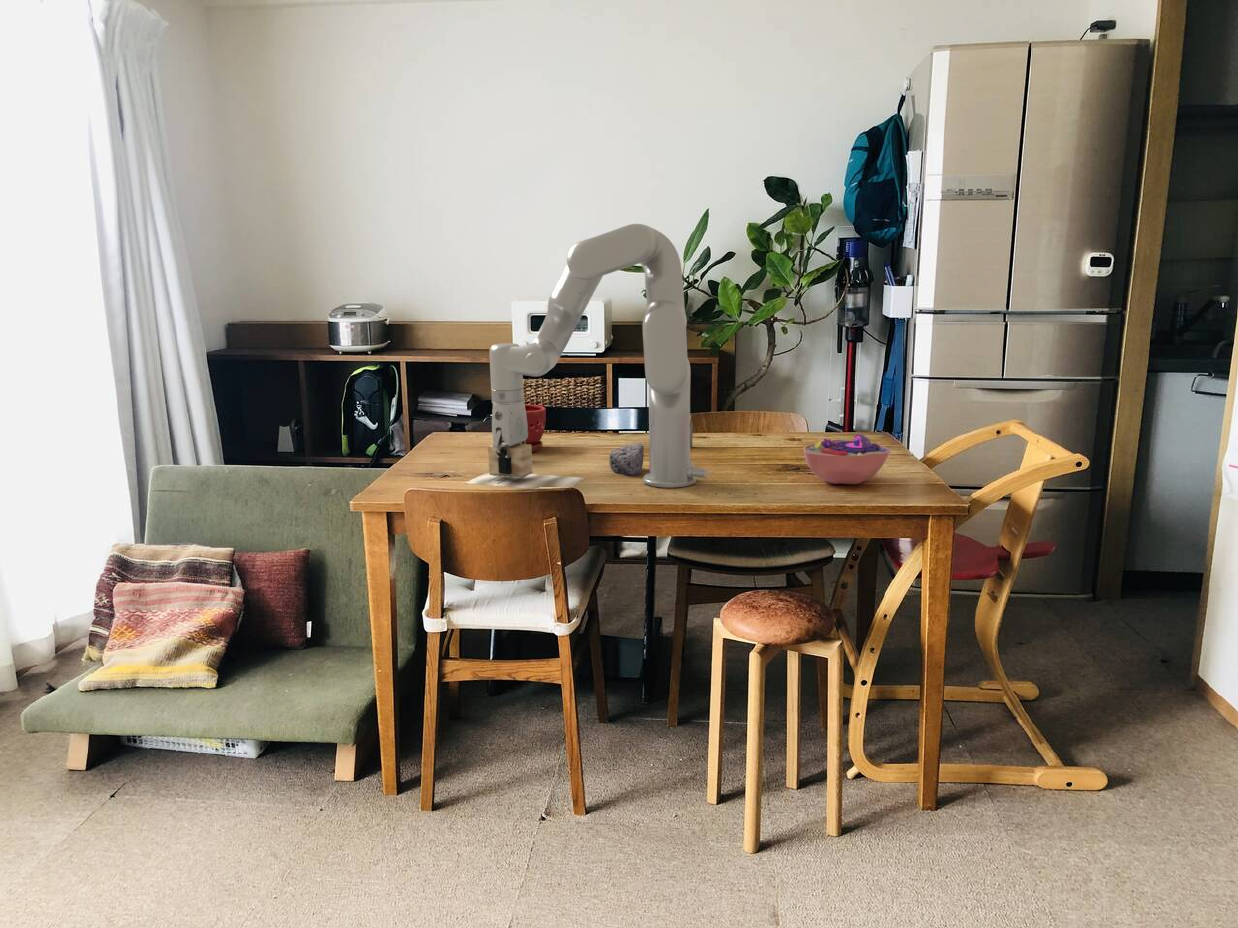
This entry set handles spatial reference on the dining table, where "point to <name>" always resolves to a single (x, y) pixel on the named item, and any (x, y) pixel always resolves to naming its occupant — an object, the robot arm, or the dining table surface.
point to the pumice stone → (627, 459)
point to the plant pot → (535, 425)
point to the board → (526, 481)
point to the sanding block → (513, 460)
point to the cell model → (846, 459)
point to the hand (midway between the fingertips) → (510, 470)
